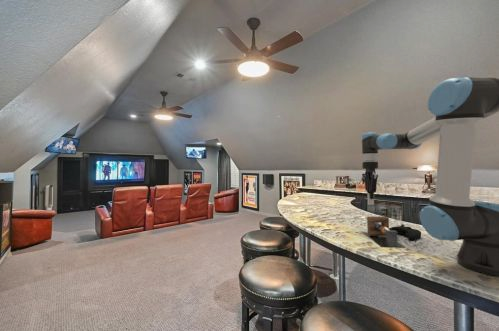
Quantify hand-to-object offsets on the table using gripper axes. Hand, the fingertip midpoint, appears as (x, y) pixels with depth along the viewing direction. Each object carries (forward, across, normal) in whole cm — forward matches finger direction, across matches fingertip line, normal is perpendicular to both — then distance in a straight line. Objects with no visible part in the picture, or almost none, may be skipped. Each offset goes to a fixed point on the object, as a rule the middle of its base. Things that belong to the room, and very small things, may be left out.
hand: (370, 204), depth 119 cm
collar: (+15, -8, 0) cm, 17 cm away
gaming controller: (+16, -6, -14) cm, 22 cm away
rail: (+15, -12, 0) cm, 19 cm away
